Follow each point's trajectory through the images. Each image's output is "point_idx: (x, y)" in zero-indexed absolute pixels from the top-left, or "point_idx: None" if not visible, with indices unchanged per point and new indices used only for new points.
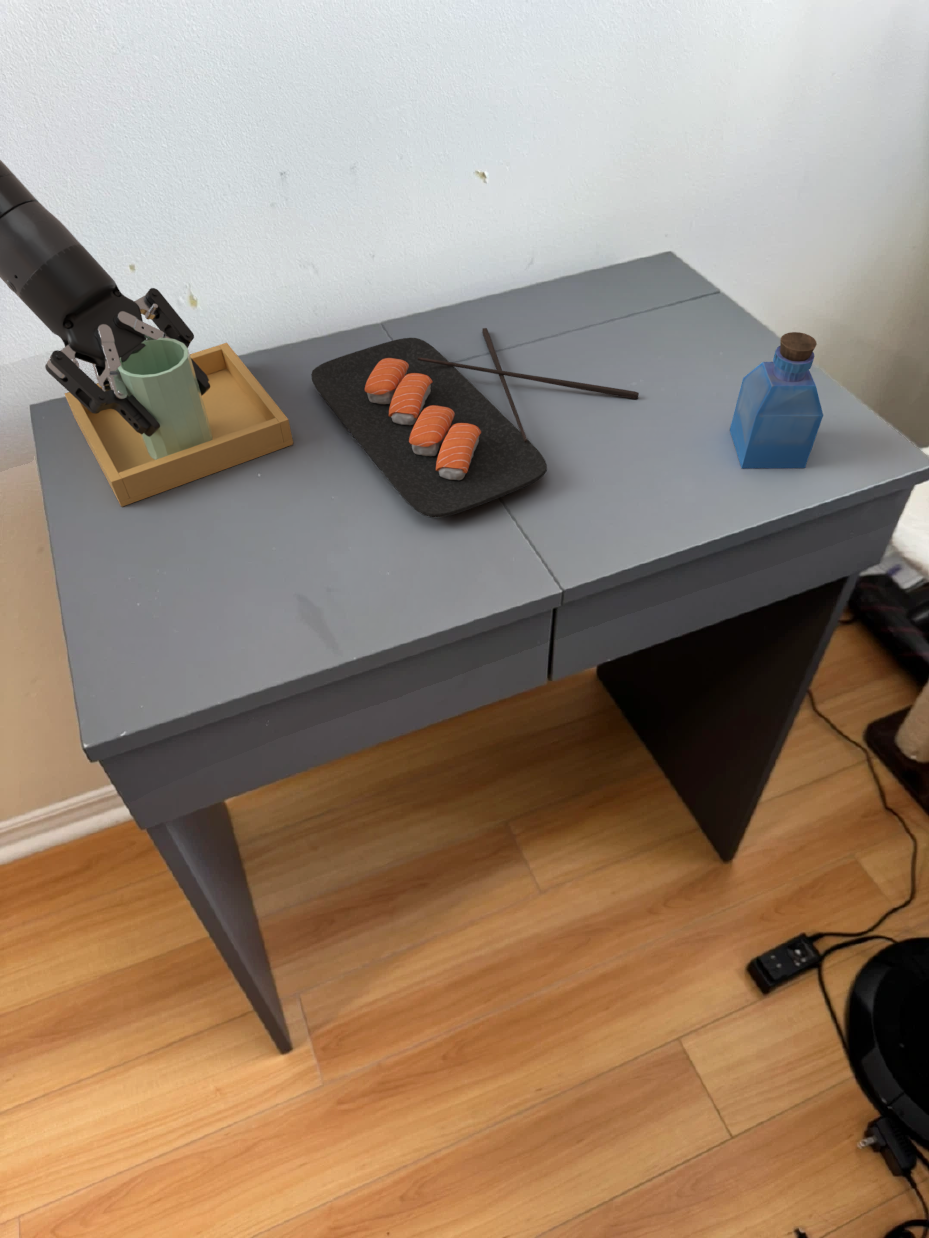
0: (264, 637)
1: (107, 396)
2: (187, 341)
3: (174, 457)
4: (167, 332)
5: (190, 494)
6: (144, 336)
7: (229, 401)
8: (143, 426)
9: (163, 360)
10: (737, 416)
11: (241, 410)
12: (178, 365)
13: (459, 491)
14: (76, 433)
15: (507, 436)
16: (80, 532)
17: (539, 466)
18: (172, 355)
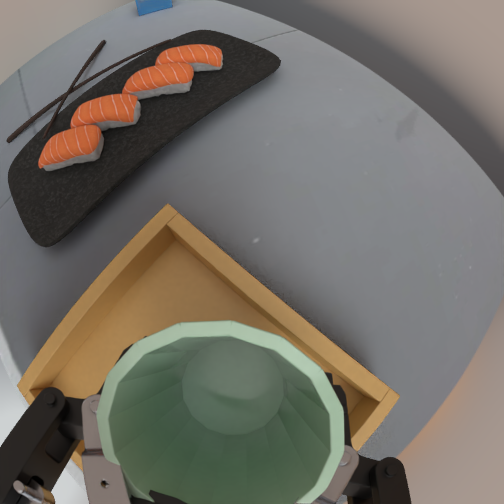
0: (438, 153)
1: (379, 465)
2: (66, 400)
3: (321, 340)
4: (58, 456)
5: (327, 315)
6: (131, 500)
7: (109, 356)
8: (342, 391)
9: (145, 442)
10: (143, 3)
11: (124, 328)
12: (237, 328)
13: (233, 60)
14: None
15: (158, 53)
16: (424, 401)
17: (197, 33)
18: (131, 418)
